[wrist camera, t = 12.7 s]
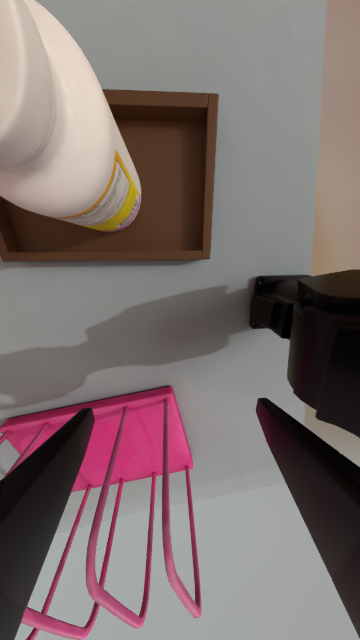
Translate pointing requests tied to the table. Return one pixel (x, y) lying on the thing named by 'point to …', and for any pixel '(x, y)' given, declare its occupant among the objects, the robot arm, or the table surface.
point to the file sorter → (117, 467)
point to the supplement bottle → (59, 127)
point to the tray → (156, 188)
